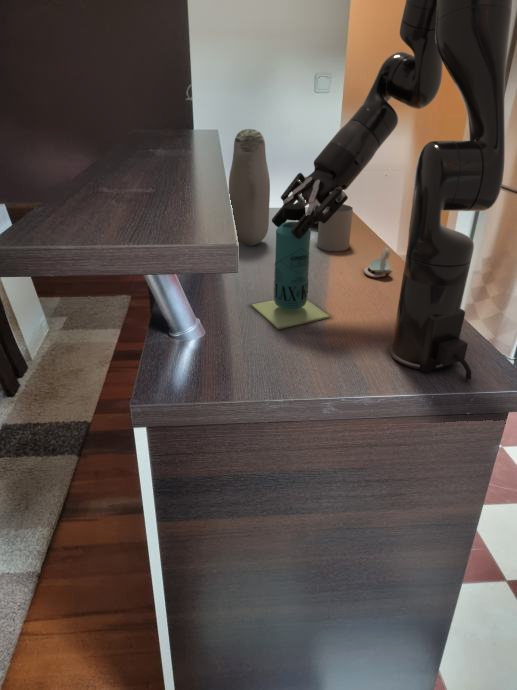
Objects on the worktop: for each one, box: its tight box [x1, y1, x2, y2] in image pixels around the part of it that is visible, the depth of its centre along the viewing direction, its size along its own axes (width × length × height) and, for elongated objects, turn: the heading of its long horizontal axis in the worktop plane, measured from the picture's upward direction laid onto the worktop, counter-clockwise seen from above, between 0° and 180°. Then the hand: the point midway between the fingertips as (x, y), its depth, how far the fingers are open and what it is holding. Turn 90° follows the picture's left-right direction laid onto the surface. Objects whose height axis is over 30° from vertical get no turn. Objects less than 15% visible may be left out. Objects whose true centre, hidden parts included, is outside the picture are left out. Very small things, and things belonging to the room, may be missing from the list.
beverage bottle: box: [272, 203, 312, 309], centre depth 94 cm, size 6×7×20 cm
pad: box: [251, 299, 330, 330], centre depth 99 cm, size 11×11×1 cm
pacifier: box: [363, 246, 393, 278], centre depth 115 cm, size 7×6×6 cm
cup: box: [316, 203, 354, 252], centre depth 132 cm, size 8×8×10 cm
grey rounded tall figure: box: [228, 128, 271, 246], centre depth 128 cm, size 10×10×28 cm
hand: (284, 229), depth 90 cm, fingers closed on beverage bottle, 6 cm apart
